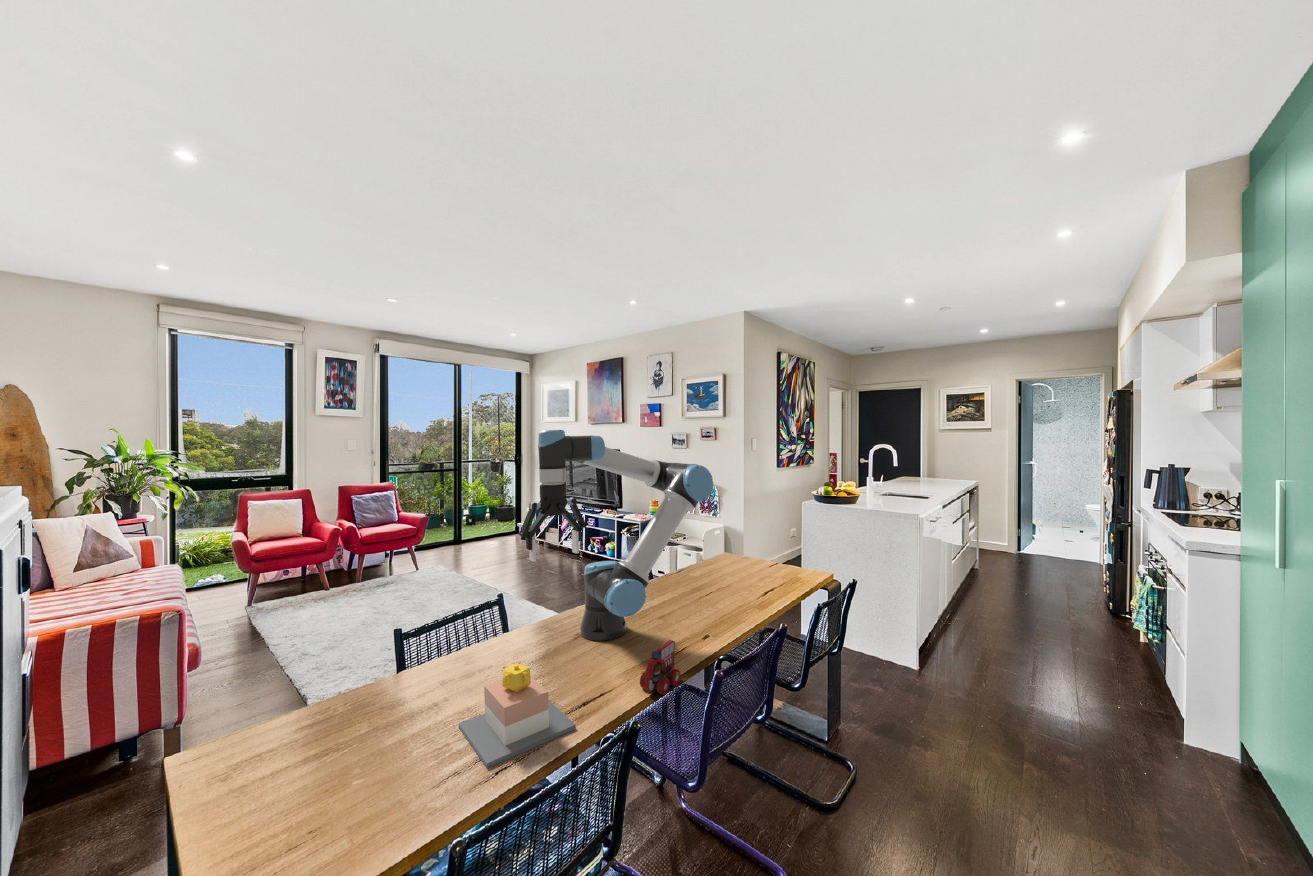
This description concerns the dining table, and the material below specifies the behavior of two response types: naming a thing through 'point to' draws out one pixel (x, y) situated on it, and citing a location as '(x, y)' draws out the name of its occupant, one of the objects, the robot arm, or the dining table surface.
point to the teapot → (516, 677)
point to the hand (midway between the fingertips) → (554, 556)
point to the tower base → (505, 752)
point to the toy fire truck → (661, 670)
